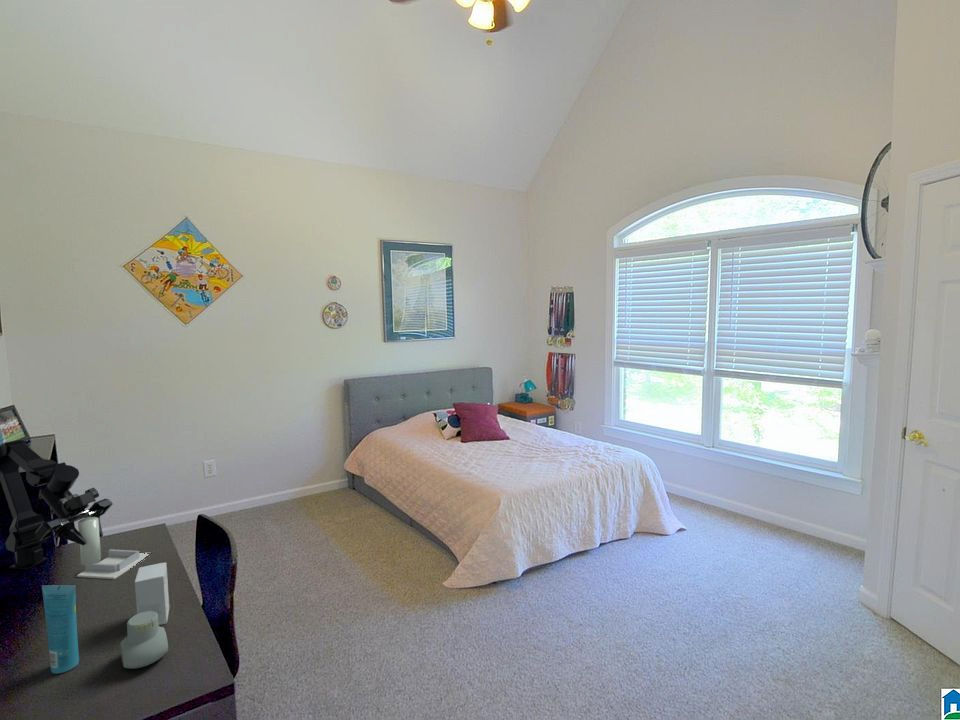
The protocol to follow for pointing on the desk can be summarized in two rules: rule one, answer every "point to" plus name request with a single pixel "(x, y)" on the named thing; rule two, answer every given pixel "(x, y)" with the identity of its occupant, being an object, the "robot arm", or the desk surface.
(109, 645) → the desk surface
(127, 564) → the white railed tray
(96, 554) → the domed peg
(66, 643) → the tube
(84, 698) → the desk surface
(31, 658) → the desk surface
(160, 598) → the small box
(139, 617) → the air freshener
